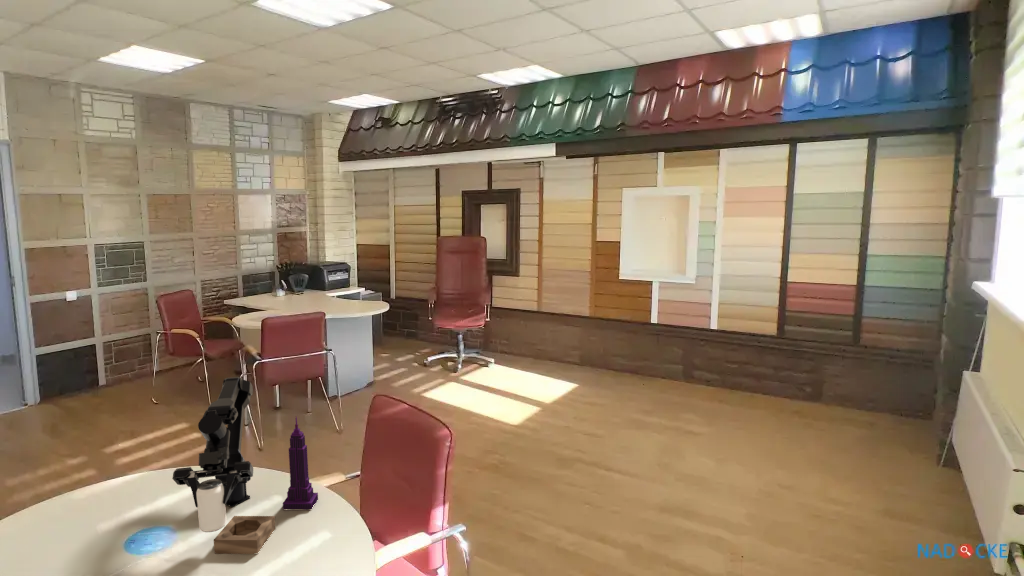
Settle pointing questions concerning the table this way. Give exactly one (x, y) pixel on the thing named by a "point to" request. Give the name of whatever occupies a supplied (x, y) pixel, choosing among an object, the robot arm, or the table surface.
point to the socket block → (244, 535)
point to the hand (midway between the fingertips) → (210, 505)
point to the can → (211, 505)
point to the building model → (299, 475)
